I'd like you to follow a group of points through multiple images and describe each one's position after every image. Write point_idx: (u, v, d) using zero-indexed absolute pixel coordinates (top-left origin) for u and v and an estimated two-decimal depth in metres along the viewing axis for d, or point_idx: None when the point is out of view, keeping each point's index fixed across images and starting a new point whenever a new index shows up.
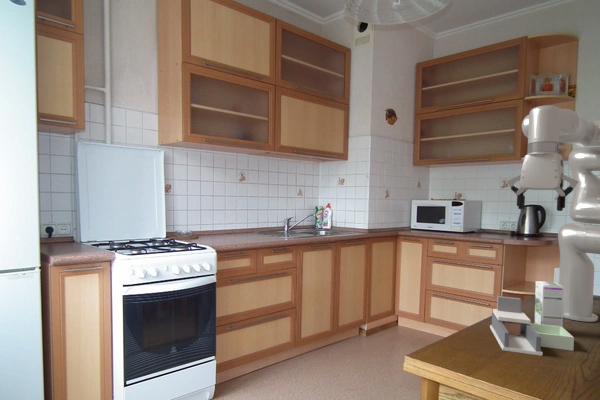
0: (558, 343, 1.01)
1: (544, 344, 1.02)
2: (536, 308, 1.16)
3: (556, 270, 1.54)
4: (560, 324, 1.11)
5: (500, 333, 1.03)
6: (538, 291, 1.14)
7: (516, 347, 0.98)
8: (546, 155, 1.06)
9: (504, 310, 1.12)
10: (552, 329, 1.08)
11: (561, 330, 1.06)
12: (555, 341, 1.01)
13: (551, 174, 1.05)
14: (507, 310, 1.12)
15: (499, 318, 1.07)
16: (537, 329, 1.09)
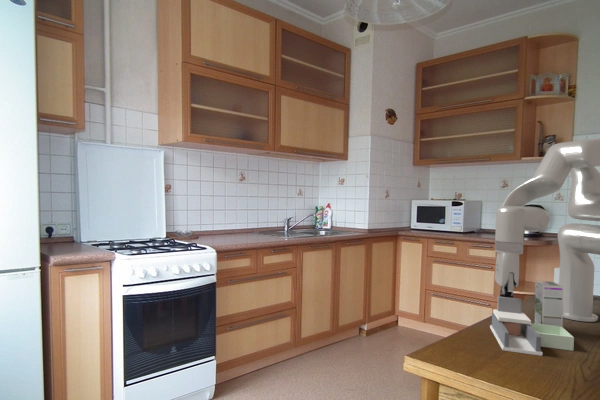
0: (558, 343, 1.01)
1: (544, 344, 1.02)
2: (536, 308, 1.16)
3: (556, 270, 1.54)
4: (560, 324, 1.11)
5: (500, 333, 1.03)
6: (538, 291, 1.14)
7: (516, 347, 0.98)
8: None
9: (504, 310, 1.12)
10: (552, 329, 1.08)
11: (561, 330, 1.06)
12: (555, 341, 1.01)
13: None
14: (507, 310, 1.12)
15: (499, 318, 1.06)
16: (537, 329, 1.09)
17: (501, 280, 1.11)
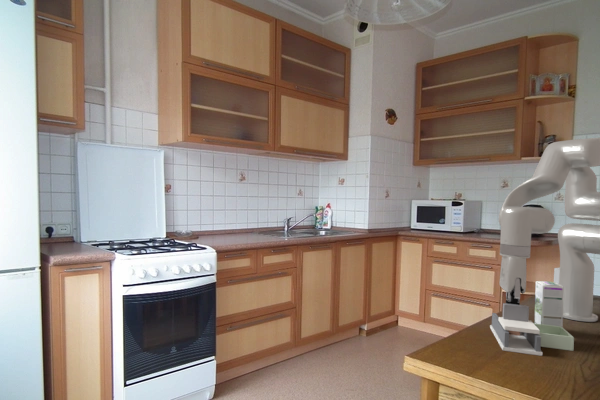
0: (558, 343, 1.01)
1: (544, 344, 1.02)
2: (536, 308, 1.16)
3: (556, 270, 1.54)
4: (560, 324, 1.11)
5: (500, 333, 1.03)
6: (538, 291, 1.14)
7: (516, 347, 0.98)
8: None
9: (510, 318, 1.04)
10: (552, 329, 1.08)
11: (561, 330, 1.06)
12: (555, 341, 1.01)
13: None
14: (513, 318, 1.04)
15: (505, 327, 0.99)
16: None
17: (507, 286, 1.04)
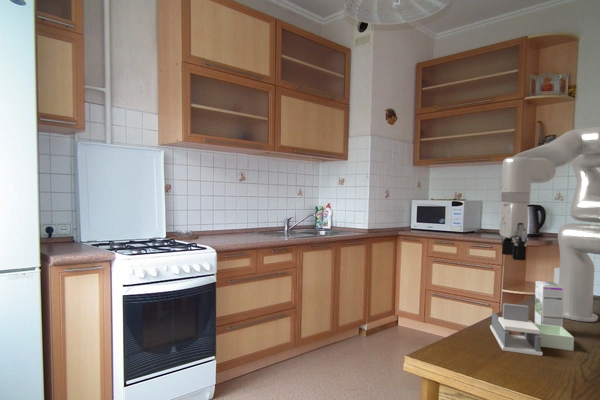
0: (558, 343, 1.01)
1: (544, 344, 1.02)
2: (536, 308, 1.16)
3: (556, 270, 1.54)
4: (560, 324, 1.11)
5: (500, 333, 1.03)
6: (538, 291, 1.14)
7: (516, 347, 0.98)
8: None
9: (510, 318, 1.04)
10: (552, 329, 1.08)
11: (561, 330, 1.06)
12: (555, 341, 1.01)
13: None
14: (513, 318, 1.04)
15: (505, 327, 0.99)
16: None
17: (510, 231, 1.08)
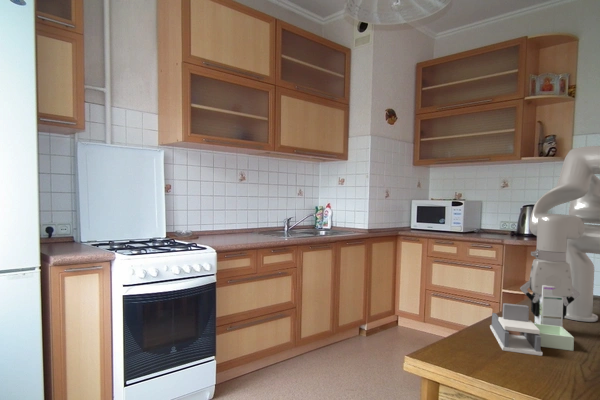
0: (558, 343, 1.01)
1: (544, 344, 1.02)
2: None
3: None
4: (560, 324, 1.11)
5: (500, 333, 1.03)
6: None
7: (516, 347, 0.98)
8: None
9: (510, 318, 1.04)
10: (552, 329, 1.08)
11: (561, 330, 1.06)
12: (555, 341, 1.01)
13: None
14: (513, 318, 1.04)
15: (505, 327, 0.99)
16: None
17: (571, 291, 1.10)
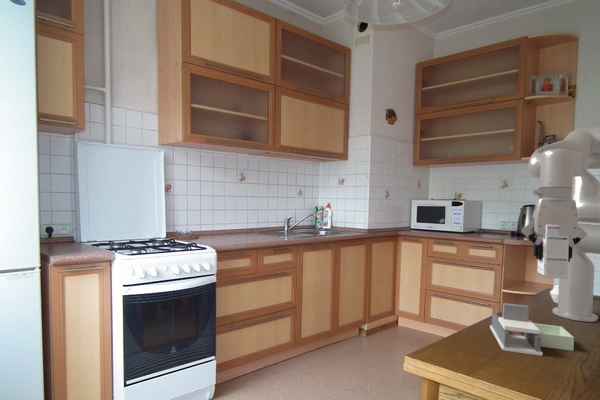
0: (558, 343, 1.01)
1: (544, 344, 1.02)
2: None
3: None
4: (565, 266, 1.02)
5: (500, 333, 1.03)
6: None
7: (516, 347, 0.98)
8: None
9: (510, 318, 1.04)
10: (552, 329, 1.08)
11: (561, 330, 1.06)
12: (555, 341, 1.01)
13: None
14: (513, 318, 1.04)
15: (505, 327, 0.99)
16: None
17: (577, 230, 1.01)
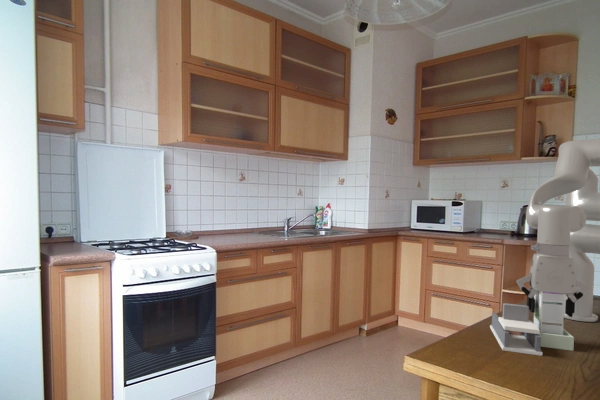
0: (558, 343, 1.01)
1: (544, 344, 1.02)
2: (535, 313, 1.07)
3: None
4: (560, 331, 1.02)
5: (500, 333, 1.03)
6: (537, 295, 1.06)
7: (516, 347, 0.98)
8: None
9: (510, 318, 1.04)
10: None
11: None
12: (555, 341, 1.01)
13: None
14: (513, 318, 1.04)
15: (505, 327, 0.99)
16: None
17: (574, 288, 1.01)
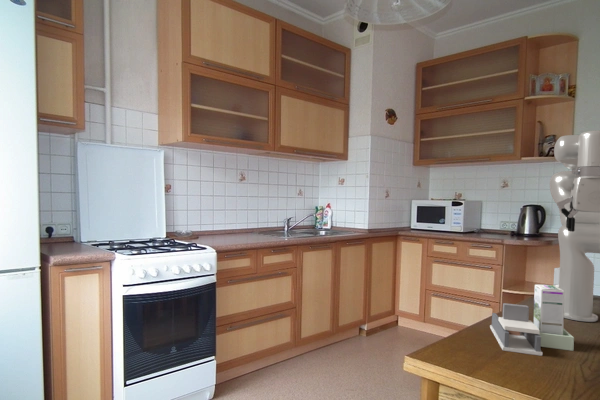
0: (558, 343, 1.01)
1: (544, 344, 1.02)
2: (535, 313, 1.07)
3: (556, 270, 1.54)
4: (560, 331, 1.02)
5: (500, 333, 1.03)
6: (537, 295, 1.06)
7: (516, 347, 0.98)
8: None
9: (510, 318, 1.04)
10: None
11: None
12: (555, 341, 1.01)
13: None
14: (513, 318, 1.04)
15: (505, 327, 0.99)
16: None
17: None
